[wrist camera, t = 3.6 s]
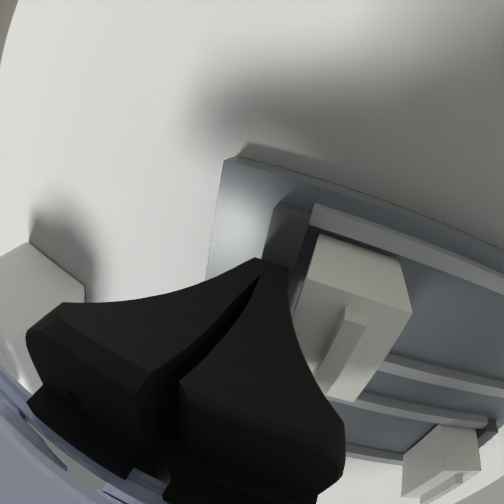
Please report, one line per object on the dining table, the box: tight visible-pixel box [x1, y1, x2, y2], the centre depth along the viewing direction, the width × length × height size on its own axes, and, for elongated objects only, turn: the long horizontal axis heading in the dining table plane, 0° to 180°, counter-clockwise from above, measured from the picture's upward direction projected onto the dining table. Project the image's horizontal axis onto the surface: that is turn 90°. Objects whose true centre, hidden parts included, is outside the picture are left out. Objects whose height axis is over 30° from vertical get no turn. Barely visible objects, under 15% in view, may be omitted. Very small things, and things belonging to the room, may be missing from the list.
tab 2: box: [401, 424, 481, 504], centre depth 11 cm, size 4×3×4 cm
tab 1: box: [291, 233, 413, 402], centre depth 9 cm, size 4×3×4 cm
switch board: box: [205, 156, 504, 465], centre depth 12 cm, size 15×20×2 cm
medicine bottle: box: [0, 242, 85, 395], centre depth 15 cm, size 7×7×12 cm
